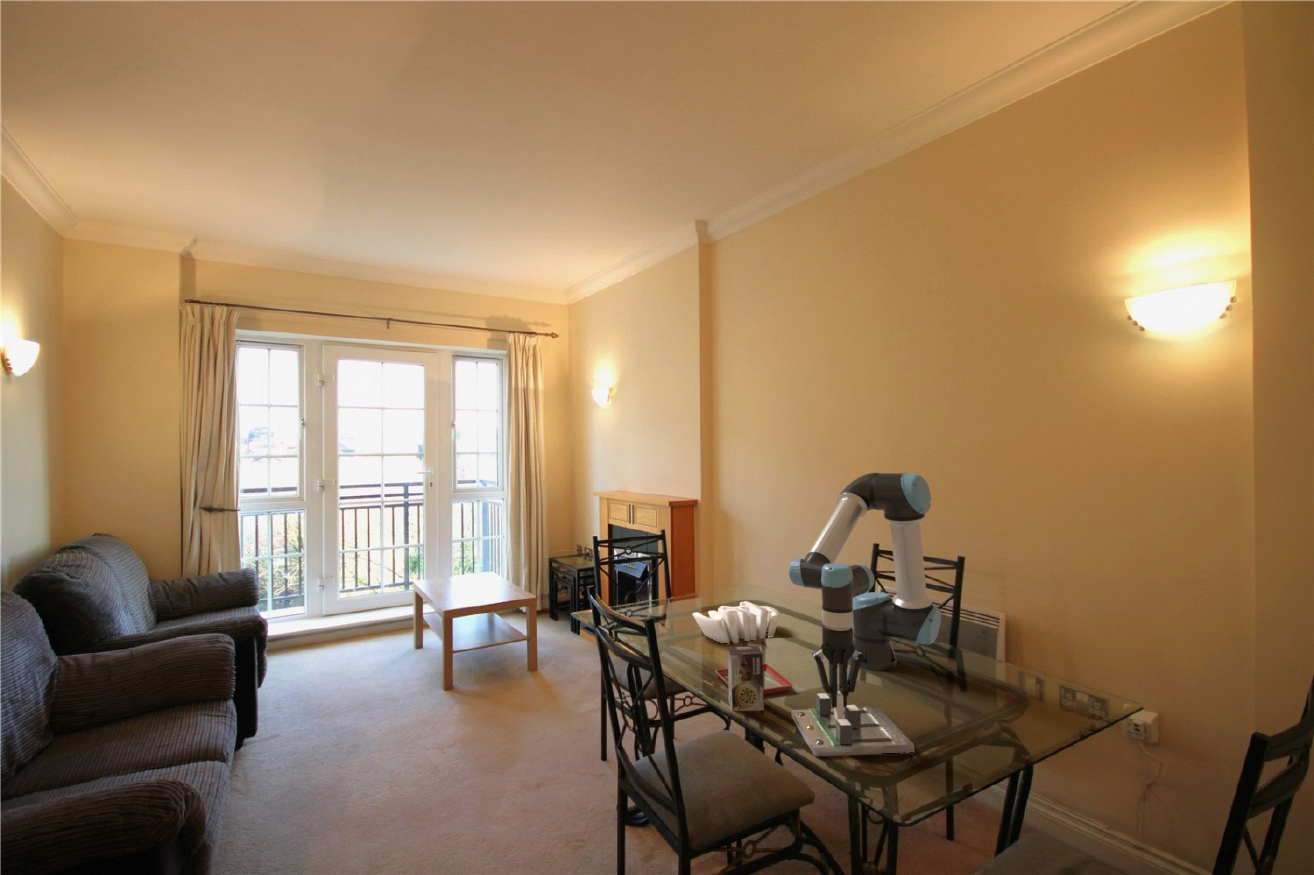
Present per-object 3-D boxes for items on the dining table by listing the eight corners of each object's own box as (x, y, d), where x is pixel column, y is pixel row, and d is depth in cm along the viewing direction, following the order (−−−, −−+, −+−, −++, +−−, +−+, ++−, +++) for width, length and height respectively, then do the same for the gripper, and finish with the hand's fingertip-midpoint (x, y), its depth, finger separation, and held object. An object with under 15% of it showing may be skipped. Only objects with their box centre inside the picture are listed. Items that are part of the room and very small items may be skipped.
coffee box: (759, 701, 169) (758, 645, 169) (764, 712, 163) (763, 653, 163) (727, 702, 169) (727, 646, 169) (731, 712, 162) (730, 653, 163)
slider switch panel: (878, 714, 160) (878, 705, 160) (914, 752, 140) (914, 741, 140) (791, 717, 159) (791, 707, 159) (814, 756, 139) (814, 745, 139)
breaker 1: (827, 709, 159) (827, 693, 159) (831, 714, 156) (830, 697, 156) (816, 710, 159) (816, 693, 159) (819, 715, 156) (819, 698, 156)
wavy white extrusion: (707, 647, 215) (707, 618, 215) (689, 634, 231) (689, 607, 231) (790, 636, 227) (790, 608, 227) (768, 624, 242) (768, 598, 243)
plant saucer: (737, 703, 169) (737, 692, 169) (714, 679, 186) (714, 669, 186) (794, 696, 174) (794, 684, 174) (766, 673, 191) (766, 663, 191)
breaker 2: (847, 737, 144) (847, 718, 144) (852, 743, 141) (852, 724, 141) (835, 737, 144) (835, 719, 144) (840, 743, 141) (840, 725, 141)
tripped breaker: (856, 722, 151) (856, 704, 152) (860, 727, 148) (860, 710, 149) (844, 722, 151) (844, 705, 151) (849, 728, 148) (848, 710, 148)
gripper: (857, 621, 154) (858, 711, 154) (807, 622, 154) (808, 713, 153) (868, 630, 147) (869, 725, 146) (816, 631, 146) (818, 727, 146)
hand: (838, 719), depth 150 cm, fingers closed
